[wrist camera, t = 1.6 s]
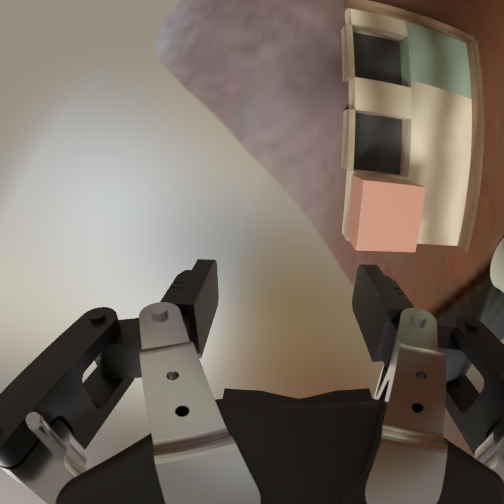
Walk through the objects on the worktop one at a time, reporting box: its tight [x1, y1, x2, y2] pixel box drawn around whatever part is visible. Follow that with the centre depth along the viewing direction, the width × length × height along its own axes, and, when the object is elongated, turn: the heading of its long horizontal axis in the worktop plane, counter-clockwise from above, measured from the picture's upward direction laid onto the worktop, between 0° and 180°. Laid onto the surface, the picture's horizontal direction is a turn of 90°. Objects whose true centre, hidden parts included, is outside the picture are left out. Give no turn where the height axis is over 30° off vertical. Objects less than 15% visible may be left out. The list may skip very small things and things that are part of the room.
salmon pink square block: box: [346, 175, 426, 252], centre depth 24 cm, size 6×6×4 cm
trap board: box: [341, 0, 484, 251], centre depth 22 cm, size 15×24×4 cm, turn 0°
